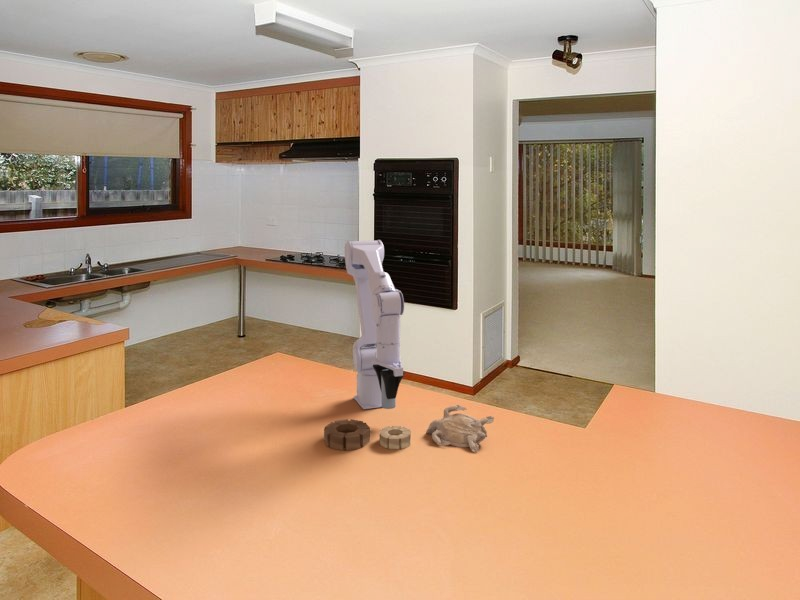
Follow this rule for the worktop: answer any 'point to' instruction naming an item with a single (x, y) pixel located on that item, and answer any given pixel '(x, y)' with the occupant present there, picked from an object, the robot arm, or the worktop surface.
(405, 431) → the beige notched ring
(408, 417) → the worktop surface
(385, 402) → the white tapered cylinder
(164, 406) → the worktop surface
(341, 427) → the brown segmented ring
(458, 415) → the turtle
